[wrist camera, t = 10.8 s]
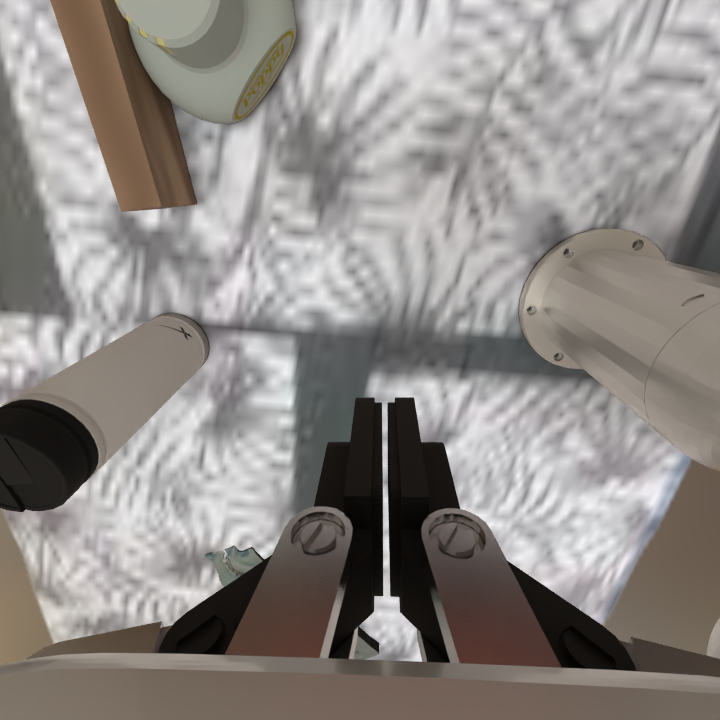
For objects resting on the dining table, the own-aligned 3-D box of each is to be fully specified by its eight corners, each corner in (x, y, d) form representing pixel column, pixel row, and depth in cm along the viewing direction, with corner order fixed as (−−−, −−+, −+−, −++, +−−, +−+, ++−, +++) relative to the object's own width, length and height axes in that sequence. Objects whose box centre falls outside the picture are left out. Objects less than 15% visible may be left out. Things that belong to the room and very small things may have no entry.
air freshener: (233, 148, 31) (174, 131, 22) (143, 65, 29) (37, 7, 20) (319, 20, 28) (292, -64, 18) (224, -85, 26) (141, -238, 16)
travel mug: (197, 304, 36) (17, 419, 18) (217, 367, 39) (78, 523, 21) (135, 313, 37) (-100, 433, 19) (159, 375, 40) (-27, 533, 21)
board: (98, -172, 24) (17, -279, 19) (197, 204, 33) (161, 206, 27) (54, -163, 24) (-39, -266, 19) (163, 208, 33) (121, 211, 28)
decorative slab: (196, 647, 59) (190, 661, 57) (208, 535, 49) (202, 548, 47) (363, 677, 60) (362, 692, 59) (406, 574, 51) (407, 588, 49)
